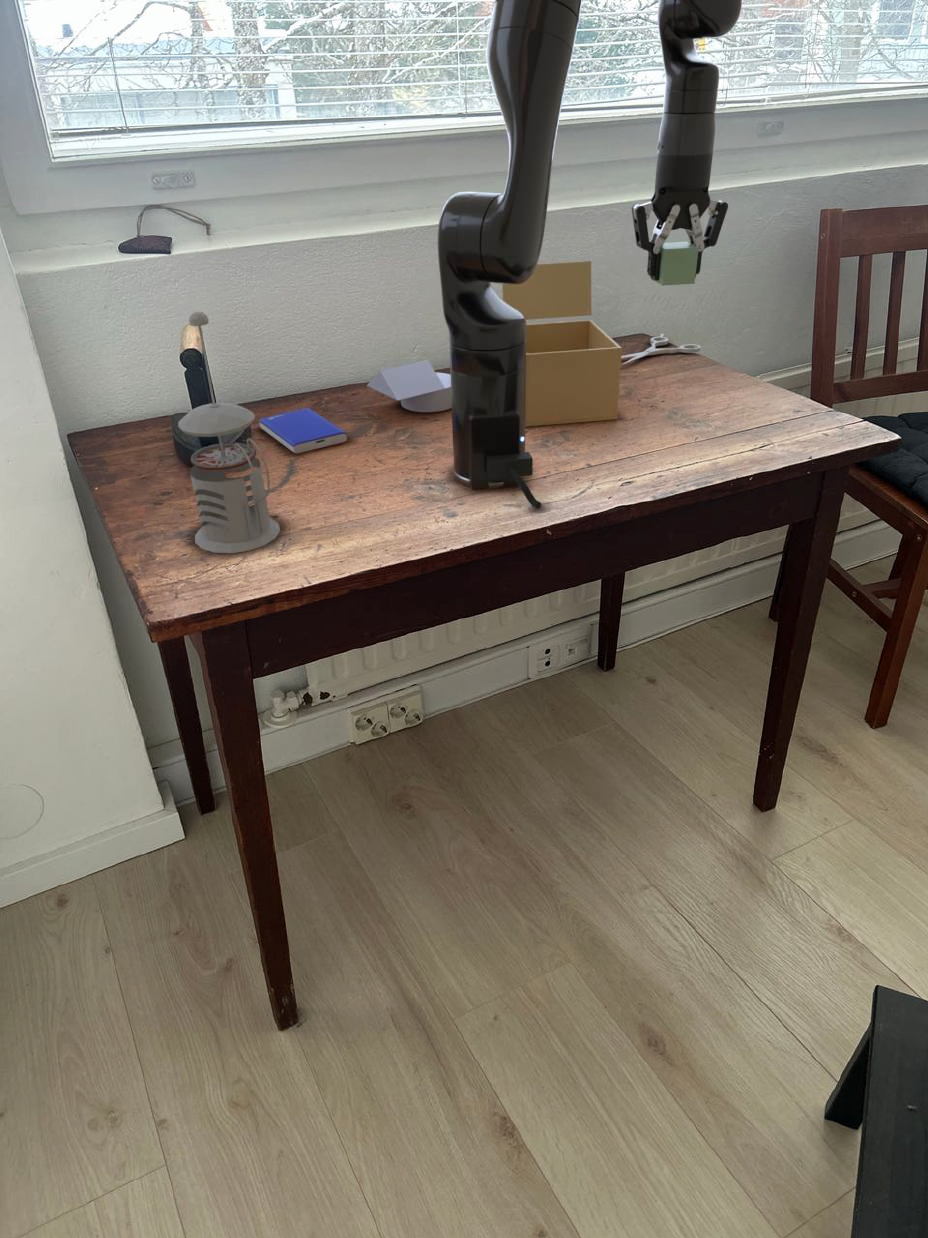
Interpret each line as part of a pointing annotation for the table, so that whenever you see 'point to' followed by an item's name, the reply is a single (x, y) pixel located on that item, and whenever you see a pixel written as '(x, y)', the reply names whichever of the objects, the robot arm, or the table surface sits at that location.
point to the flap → (552, 291)
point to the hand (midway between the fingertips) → (673, 277)
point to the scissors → (663, 341)
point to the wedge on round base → (415, 386)
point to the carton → (571, 373)
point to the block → (678, 263)
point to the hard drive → (302, 430)
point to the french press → (222, 497)
